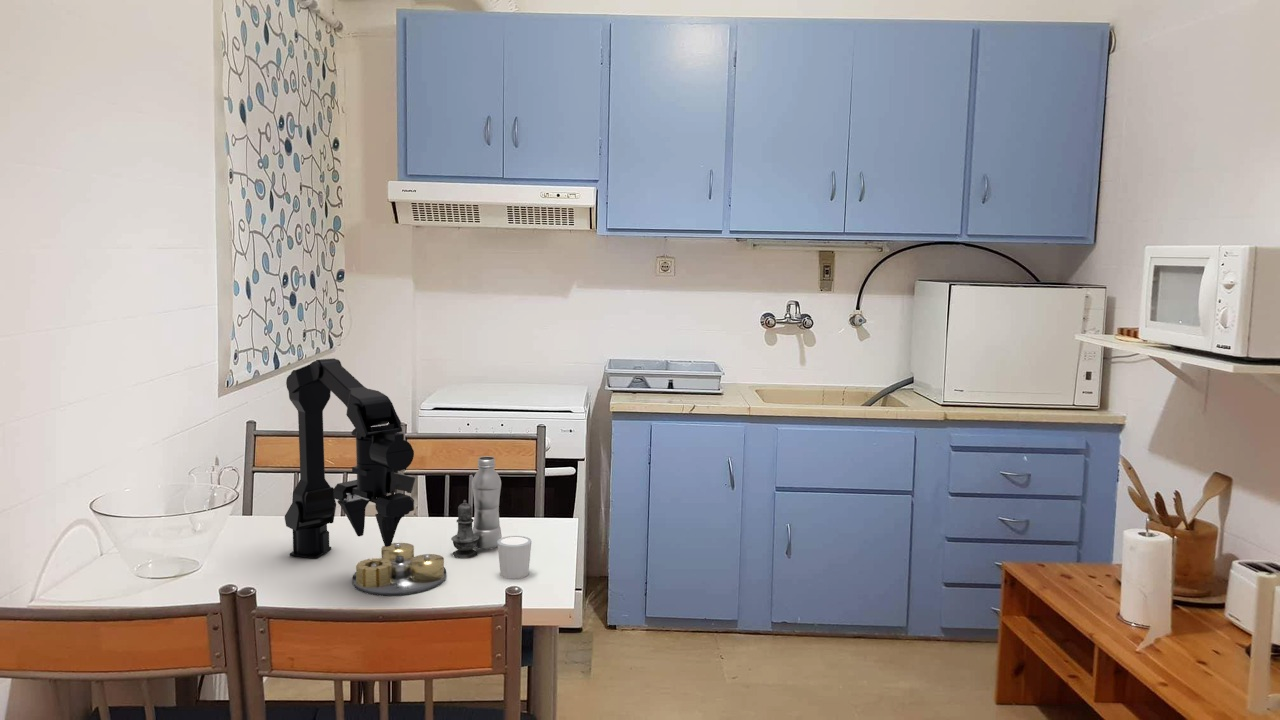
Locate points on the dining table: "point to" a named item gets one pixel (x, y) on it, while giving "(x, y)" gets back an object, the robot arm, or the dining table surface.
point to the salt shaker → (465, 533)
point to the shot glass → (514, 556)
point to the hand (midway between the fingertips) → (374, 540)
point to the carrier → (408, 571)
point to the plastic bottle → (486, 504)
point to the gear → (374, 573)
